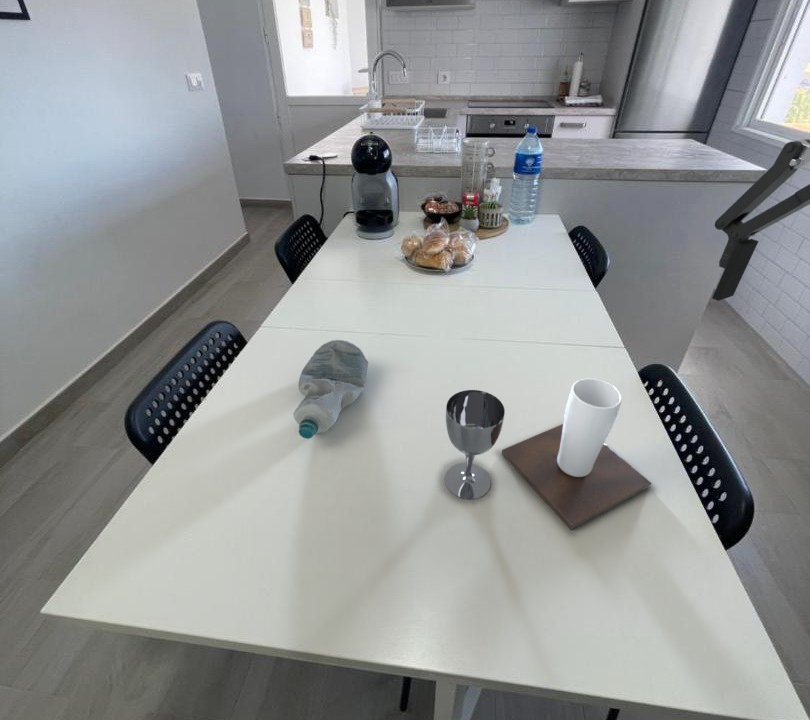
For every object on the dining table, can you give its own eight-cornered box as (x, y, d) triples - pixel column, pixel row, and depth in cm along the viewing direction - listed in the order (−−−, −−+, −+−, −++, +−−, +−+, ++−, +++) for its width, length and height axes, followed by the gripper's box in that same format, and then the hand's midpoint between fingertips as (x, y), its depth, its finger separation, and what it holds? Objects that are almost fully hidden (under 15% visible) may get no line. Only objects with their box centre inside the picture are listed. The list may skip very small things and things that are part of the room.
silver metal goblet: (503, 479, 70) (516, 407, 61) (472, 511, 65) (482, 438, 56) (462, 453, 74) (469, 382, 66) (431, 481, 70) (434, 409, 61)
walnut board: (649, 487, 68) (651, 483, 68) (571, 530, 62) (572, 525, 62) (573, 422, 80) (574, 418, 79) (501, 453, 74) (501, 449, 74)
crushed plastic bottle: (316, 359, 96) (266, 441, 76) (315, 331, 92) (262, 410, 72) (376, 370, 95) (341, 456, 74) (377, 341, 91) (341, 424, 70)
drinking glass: (571, 488, 67) (595, 414, 58) (542, 457, 72) (560, 385, 63) (605, 473, 69) (634, 400, 60) (575, 444, 74) (597, 372, 66)
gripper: (730, 76, 42) (657, 284, 54) (1199, 102, 23) (926, 406, 36) (777, 73, 44) (697, 272, 57) (1229, 94, 26) (967, 379, 38)
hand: (786, 324), depth 46 cm, fingers open, 13 cm apart
